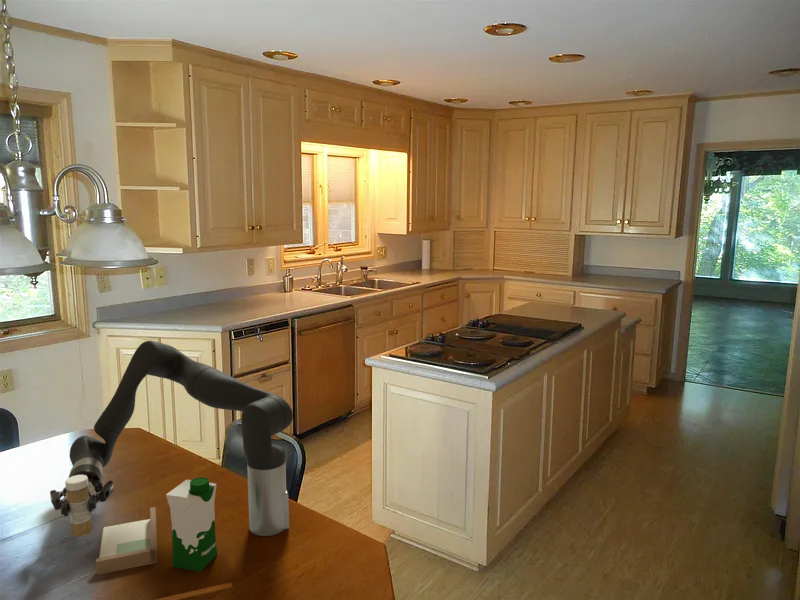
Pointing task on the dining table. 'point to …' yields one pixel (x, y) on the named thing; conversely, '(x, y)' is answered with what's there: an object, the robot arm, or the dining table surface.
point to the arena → (122, 535)
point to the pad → (133, 546)
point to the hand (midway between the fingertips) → (78, 510)
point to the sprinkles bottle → (79, 505)
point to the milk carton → (193, 524)
